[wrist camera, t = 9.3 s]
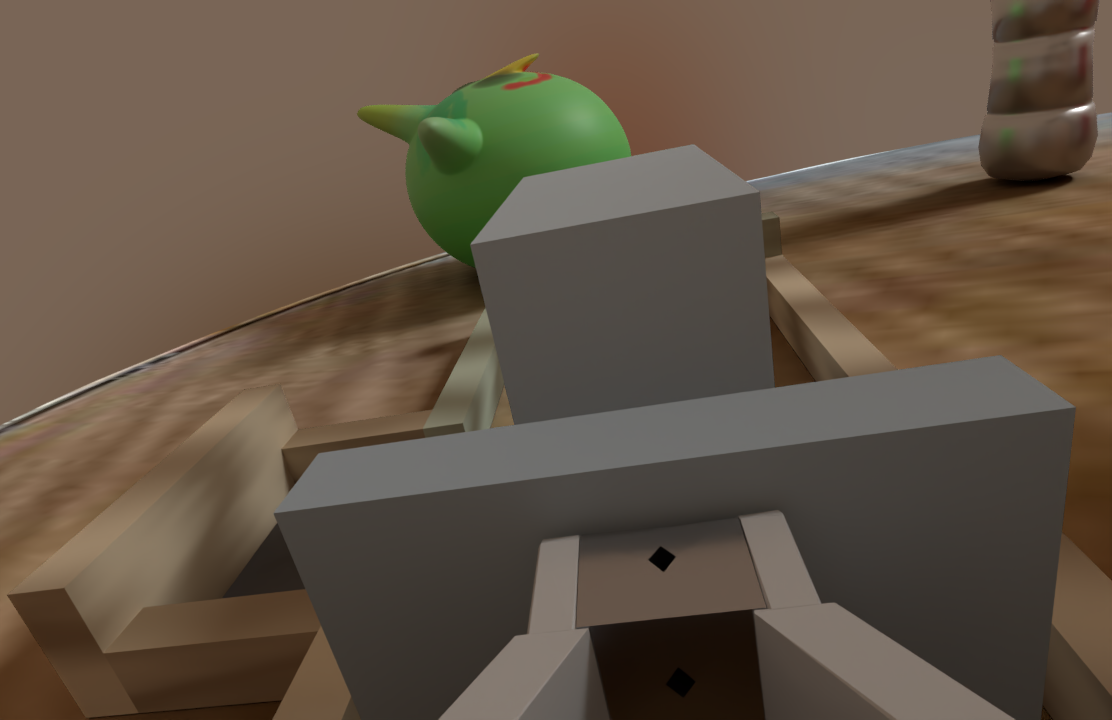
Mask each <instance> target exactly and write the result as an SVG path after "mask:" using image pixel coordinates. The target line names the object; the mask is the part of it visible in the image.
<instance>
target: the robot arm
mask: <svg viewBox="0 0 1112 720" xmlns="http://www.w3.org/2000/svg"><path fill="white" fill-rule="evenodd" d="M438 720H1015V719H1014V718H1012V717H1011V716H1009V715H1007V714H1006V713H1004V712H1003V711H1001V710H1000V709H998V708H997V707H995V706H994V705H992V704H991V703H989V702H987V701H986V700H984V699H983V698H981V697H980V696H978V695H977V694H975V693H974V692H972V691H971V690H969V689H967V688H966V687H964V686H963V685H961V684H960V683H958V682H957V681H955V680H954V679H952V678H951V677H949V676H947V675H946V674H944V673H943V672H941V671H940V670H938V669H937V668H935V667H934V666H932V665H931V664H929V663H927V662H926V661H924V660H923V659H921V658H920V657H918V656H917V655H915V654H914V653H912V652H911V651H909V650H907V649H906V648H904V647H903V646H901V645H900V644H898V643H897V642H895V641H894V640H892V639H891V638H889V637H887V636H886V635H884V634H883V633H881V632H880V631H878V630H877V629H875V628H874V627H872V626H870V625H869V624H867V623H866V622H864V621H863V620H861V619H860V618H858V617H857V616H855V615H854V614H852V613H850V612H849V611H847V610H846V609H844V608H843V607H841V606H840V605H838V604H837V603H823V604H821V601H820V599H819V597H818V594H817V592H816V590H815V587H814V585H813V583H812V580H811V578H810V576H809V573H808V571H807V569H806V566H805V564H804V562H803V559H802V557H801V555H800V552H799V550H798V548H797V545H796V543H795V540H794V538H793V536H792V533H791V531H790V529H789V526H788V524H787V522H786V519H785V517H784V515H783V513H781V512H780V511H779V510H773V511H766V512H760V513H753V514H747V515H740V516H738V517H737V518H729V519H721V520H713V521H705V522H697V523H689V524H681V525H674V526H666V527H651V528H641V529H631V530H621V531H611V532H602V533H592V534H582V535H581V536H579V535H574V536H566V537H557V538H549V539H543V540H542V542H541V544H540V545H539V548H538V555H537V563H536V570H535V578H534V585H533V592H532V600H531V607H530V615H529V622H528V629H527V634H526V635H517V636H514V637H513V638H512V640H511V641H510V642H509V643H508V644H507V645H506V646H505V647H504V648H503V649H502V650H501V652H500V653H499V654H498V655H497V656H496V657H495V658H494V659H493V660H492V661H491V662H490V664H489V665H488V666H487V667H486V668H485V669H484V670H483V671H482V672H481V673H480V674H479V676H478V677H477V678H476V679H475V680H474V681H473V682H472V683H471V684H470V685H469V686H468V688H467V689H466V690H465V691H464V692H463V693H462V694H461V695H460V696H459V697H458V699H457V700H456V701H455V702H454V703H453V704H452V705H451V706H450V707H449V708H448V709H447V711H446V712H445V713H444V714H443V715H442V716H441V717H440V718H439V719H438Z"/></svg>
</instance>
